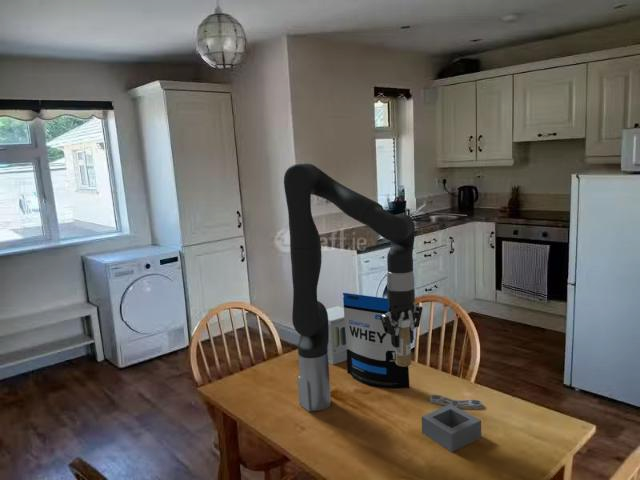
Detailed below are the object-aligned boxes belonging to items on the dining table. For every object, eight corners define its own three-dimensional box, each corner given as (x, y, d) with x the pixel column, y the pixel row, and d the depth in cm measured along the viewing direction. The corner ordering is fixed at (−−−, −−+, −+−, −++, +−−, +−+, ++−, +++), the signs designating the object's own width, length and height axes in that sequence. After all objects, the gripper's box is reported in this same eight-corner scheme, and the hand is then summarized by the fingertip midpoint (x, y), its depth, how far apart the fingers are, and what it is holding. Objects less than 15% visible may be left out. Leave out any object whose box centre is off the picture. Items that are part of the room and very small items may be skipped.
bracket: (437, 389, 155) (483, 400, 146) (438, 394, 156) (484, 406, 146) (427, 398, 150) (474, 411, 140) (427, 404, 150) (474, 417, 140)
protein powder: (354, 368, 178) (350, 289, 173) (415, 382, 163) (412, 297, 158) (340, 378, 170) (335, 296, 165) (403, 394, 156) (399, 305, 151)
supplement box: (332, 365, 181) (329, 320, 178) (313, 355, 192) (310, 312, 189) (360, 356, 188) (358, 312, 185) (340, 346, 199) (338, 305, 196)
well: (451, 452, 124) (451, 434, 123) (422, 433, 134) (421, 416, 133) (481, 437, 130) (481, 420, 129) (450, 420, 139) (450, 404, 138)
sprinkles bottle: (414, 365, 136) (412, 320, 134) (398, 368, 135) (397, 322, 133) (407, 359, 141) (406, 315, 139) (392, 361, 140) (391, 317, 138)
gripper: (411, 279, 141) (412, 335, 144) (372, 288, 134) (374, 347, 137) (429, 284, 135) (430, 342, 138) (389, 294, 128) (391, 355, 130)
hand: (402, 344), depth 137 cm, fingers closed on sprinkles bottle, 4 cm apart
